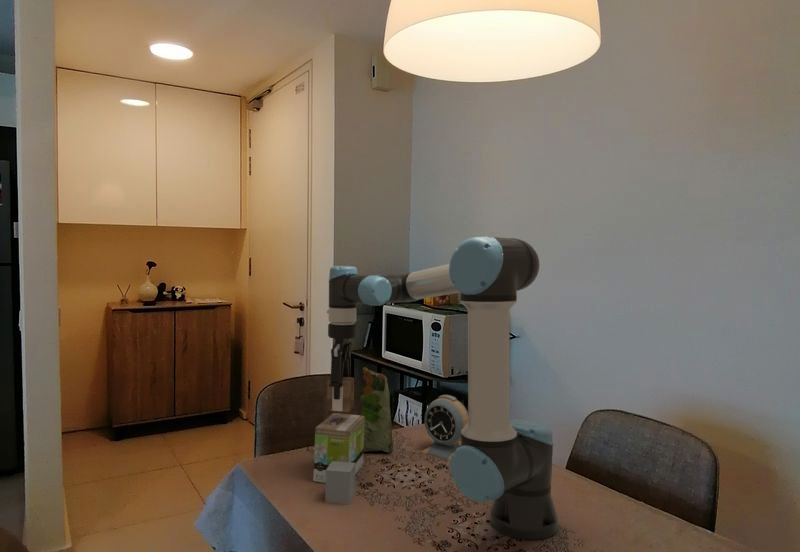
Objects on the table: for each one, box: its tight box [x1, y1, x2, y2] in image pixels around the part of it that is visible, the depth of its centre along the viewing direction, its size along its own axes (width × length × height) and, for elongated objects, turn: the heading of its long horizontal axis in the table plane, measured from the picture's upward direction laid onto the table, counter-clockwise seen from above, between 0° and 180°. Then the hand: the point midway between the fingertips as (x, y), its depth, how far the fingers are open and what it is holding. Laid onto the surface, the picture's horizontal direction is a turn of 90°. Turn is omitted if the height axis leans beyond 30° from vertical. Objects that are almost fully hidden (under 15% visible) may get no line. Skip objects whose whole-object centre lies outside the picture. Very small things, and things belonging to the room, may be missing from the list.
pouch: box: [360, 366, 394, 453], centre depth 173 cm, size 11×12×25 cm
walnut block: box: [326, 376, 355, 413], centre depth 154 cm, size 6×6×8 cm
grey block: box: [324, 461, 356, 505], centre depth 139 cm, size 6×6×8 cm
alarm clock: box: [420, 394, 468, 462], centre depth 173 cm, size 14×10×18 cm
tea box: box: [313, 412, 365, 484], centre depth 155 cm, size 15×10×15 cm, turn 168°
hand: (340, 406), depth 154 cm, fingers closed on walnut block, 6 cm apart
